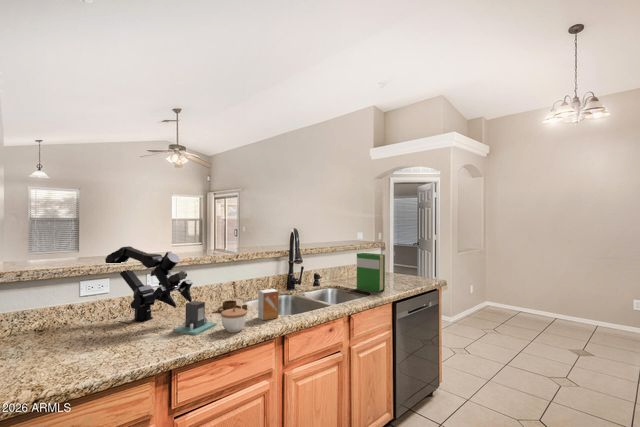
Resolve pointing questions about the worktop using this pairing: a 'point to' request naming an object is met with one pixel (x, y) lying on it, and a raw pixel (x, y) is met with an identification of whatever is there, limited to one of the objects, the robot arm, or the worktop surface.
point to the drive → (195, 314)
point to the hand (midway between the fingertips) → (183, 304)
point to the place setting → (230, 306)
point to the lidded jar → (233, 319)
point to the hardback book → (371, 272)
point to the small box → (268, 304)
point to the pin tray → (193, 330)
